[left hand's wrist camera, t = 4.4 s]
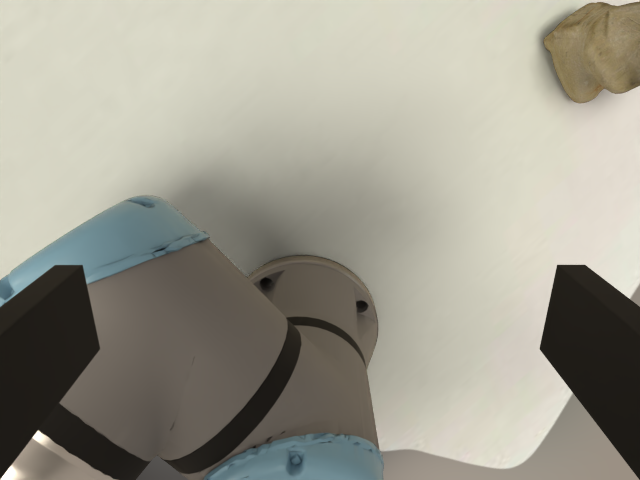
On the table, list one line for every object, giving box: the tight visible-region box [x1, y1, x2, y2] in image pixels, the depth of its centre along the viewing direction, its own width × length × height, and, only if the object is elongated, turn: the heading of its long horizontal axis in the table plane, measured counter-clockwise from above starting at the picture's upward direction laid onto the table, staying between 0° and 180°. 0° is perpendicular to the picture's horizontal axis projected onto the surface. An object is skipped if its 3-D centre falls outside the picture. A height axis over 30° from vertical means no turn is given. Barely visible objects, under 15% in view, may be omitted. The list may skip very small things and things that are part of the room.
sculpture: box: [544, 2, 640, 103], centre depth 31 cm, size 6×7×15 cm
